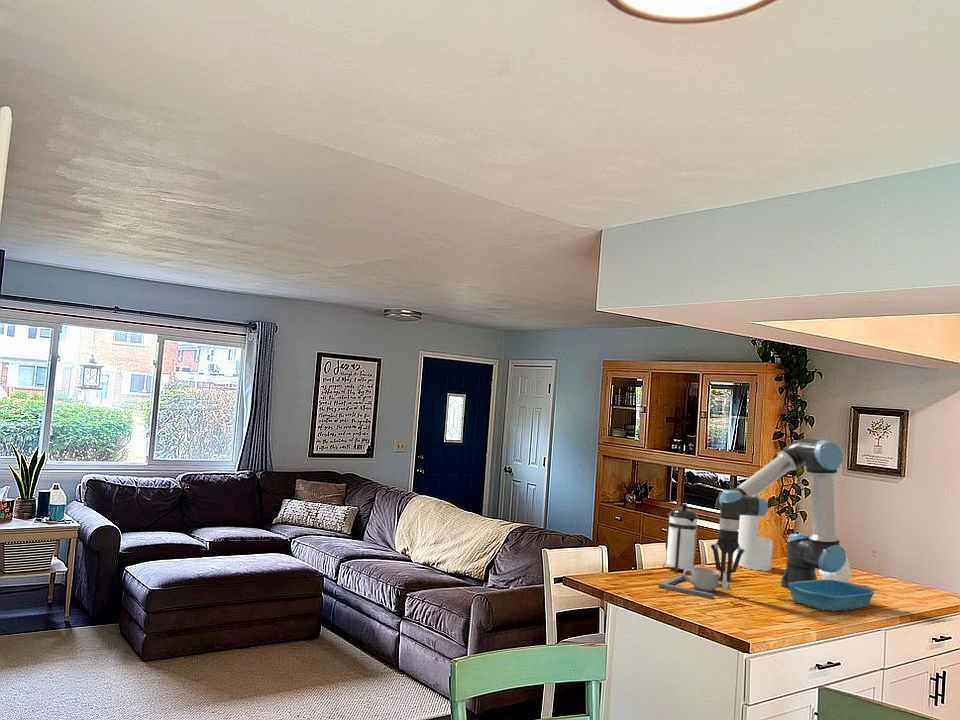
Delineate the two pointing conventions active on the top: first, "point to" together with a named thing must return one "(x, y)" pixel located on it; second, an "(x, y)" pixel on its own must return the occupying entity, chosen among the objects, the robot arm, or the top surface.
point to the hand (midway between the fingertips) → (724, 589)
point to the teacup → (703, 578)
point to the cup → (838, 573)
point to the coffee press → (681, 538)
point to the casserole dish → (830, 594)
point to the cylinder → (753, 545)
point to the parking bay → (669, 585)
